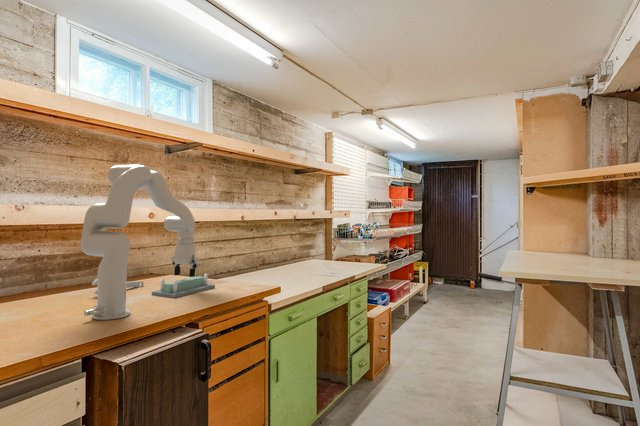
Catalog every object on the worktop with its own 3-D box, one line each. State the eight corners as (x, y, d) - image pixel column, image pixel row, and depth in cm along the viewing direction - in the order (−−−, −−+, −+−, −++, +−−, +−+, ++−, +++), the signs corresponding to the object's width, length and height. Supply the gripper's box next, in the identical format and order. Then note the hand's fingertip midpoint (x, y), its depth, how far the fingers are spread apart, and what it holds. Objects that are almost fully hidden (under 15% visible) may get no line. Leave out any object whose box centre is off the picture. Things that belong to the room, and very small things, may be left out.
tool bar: (169, 293, 174) (169, 284, 174) (162, 292, 176) (163, 283, 176) (204, 284, 196) (204, 276, 196) (198, 283, 198) (198, 276, 198)
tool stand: (174, 298, 170) (174, 281, 170) (151, 295, 176) (152, 279, 176) (214, 287, 196) (215, 273, 196) (194, 285, 202) (194, 271, 202)
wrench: (143, 291, 196) (93, 296, 168) (140, 291, 197) (89, 296, 168) (144, 276, 197) (95, 278, 169) (142, 276, 198) (92, 278, 169)
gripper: (167, 240, 186) (165, 275, 186) (194, 242, 179) (192, 278, 179) (178, 240, 193) (177, 273, 192) (204, 241, 186) (203, 276, 185)
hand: (184, 275), depth 185 cm, fingers open, 9 cm apart
